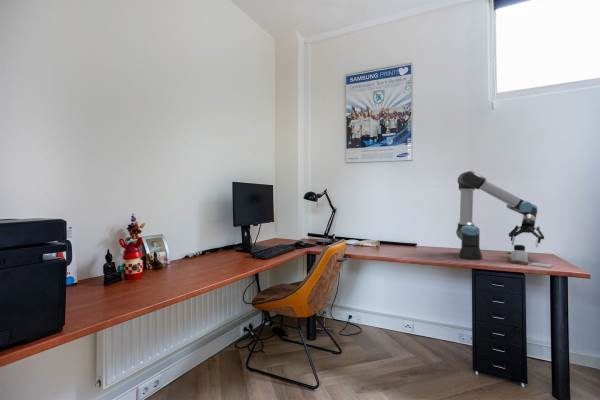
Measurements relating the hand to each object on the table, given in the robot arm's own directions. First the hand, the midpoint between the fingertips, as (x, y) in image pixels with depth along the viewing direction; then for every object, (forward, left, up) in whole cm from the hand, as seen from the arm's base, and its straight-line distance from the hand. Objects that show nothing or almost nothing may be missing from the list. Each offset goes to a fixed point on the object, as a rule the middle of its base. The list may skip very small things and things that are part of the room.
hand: (524, 245), depth 207 cm
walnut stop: (-1, -13, -11) cm, 17 cm away
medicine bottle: (-1, -7, -11) cm, 14 cm away
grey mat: (+11, -7, -11) cm, 17 cm away
